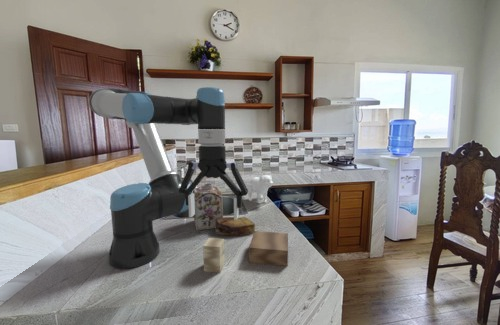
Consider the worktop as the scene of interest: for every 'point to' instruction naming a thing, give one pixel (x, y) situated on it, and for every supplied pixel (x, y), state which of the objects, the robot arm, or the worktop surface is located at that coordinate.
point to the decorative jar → (207, 206)
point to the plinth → (269, 248)
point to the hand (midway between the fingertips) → (213, 217)
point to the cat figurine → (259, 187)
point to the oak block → (214, 255)
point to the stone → (234, 226)
